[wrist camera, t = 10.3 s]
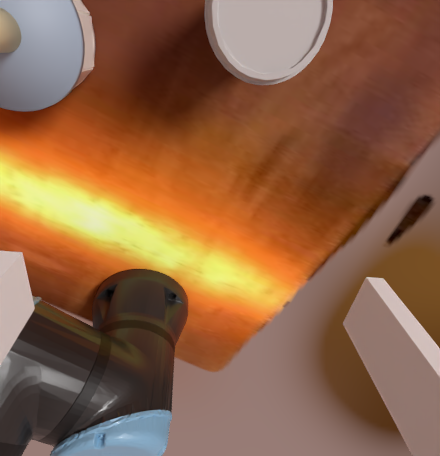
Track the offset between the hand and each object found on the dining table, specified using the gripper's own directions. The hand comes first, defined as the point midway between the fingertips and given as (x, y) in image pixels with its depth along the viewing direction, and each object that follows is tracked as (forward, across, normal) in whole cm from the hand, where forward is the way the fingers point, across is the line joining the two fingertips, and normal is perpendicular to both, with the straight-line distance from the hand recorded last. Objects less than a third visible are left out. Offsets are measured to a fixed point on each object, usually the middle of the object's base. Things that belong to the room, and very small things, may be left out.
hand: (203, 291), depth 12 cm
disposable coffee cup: (+29, -4, -11) cm, 31 cm away
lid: (+23, +17, -7) cm, 29 cm away
